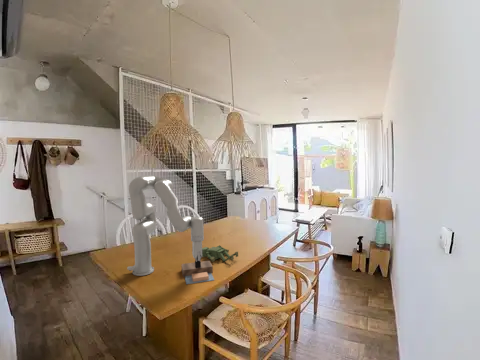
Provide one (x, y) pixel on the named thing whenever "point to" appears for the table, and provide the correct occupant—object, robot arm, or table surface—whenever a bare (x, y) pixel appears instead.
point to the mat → (190, 281)
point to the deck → (190, 268)
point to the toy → (217, 253)
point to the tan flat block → (200, 276)
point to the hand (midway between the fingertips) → (197, 267)
